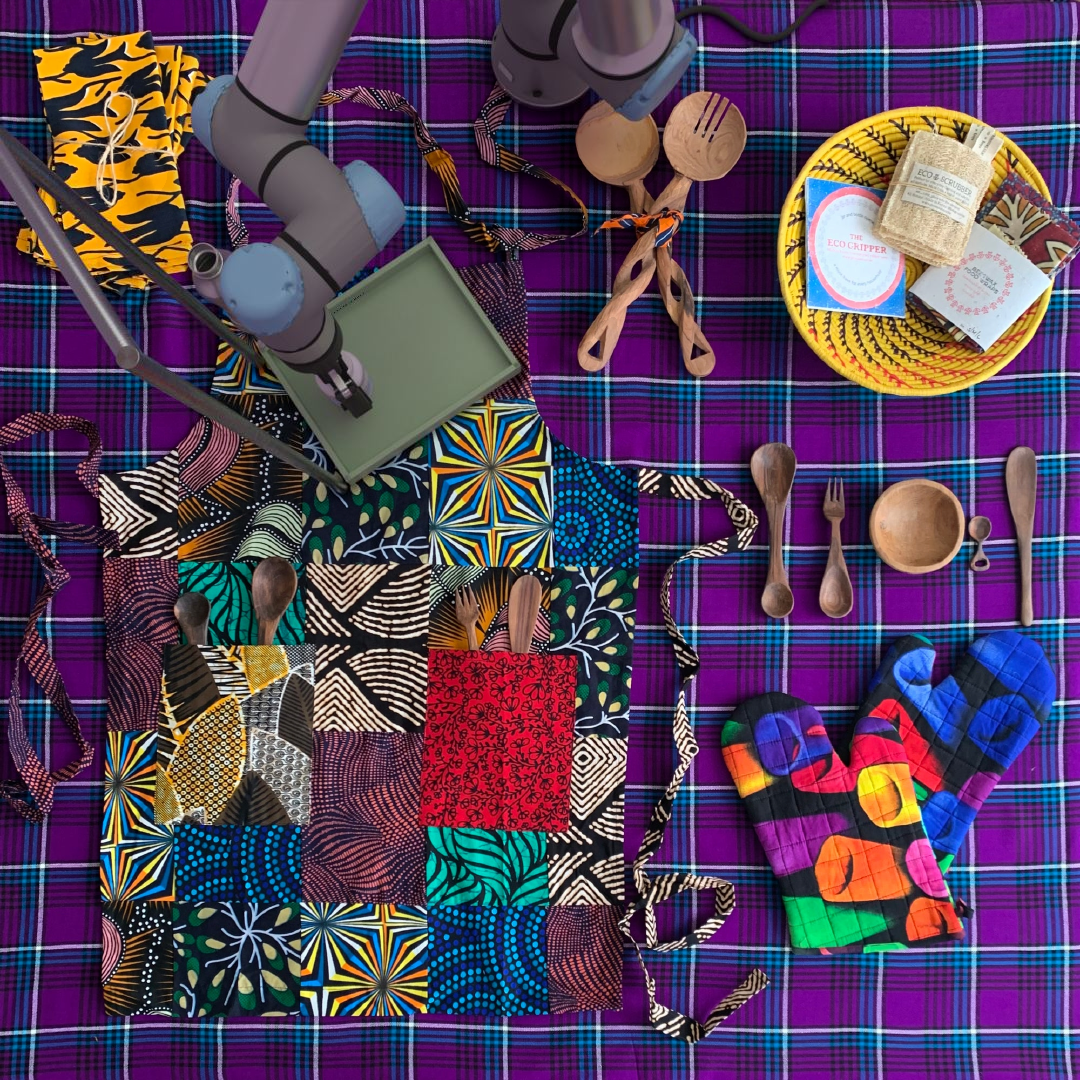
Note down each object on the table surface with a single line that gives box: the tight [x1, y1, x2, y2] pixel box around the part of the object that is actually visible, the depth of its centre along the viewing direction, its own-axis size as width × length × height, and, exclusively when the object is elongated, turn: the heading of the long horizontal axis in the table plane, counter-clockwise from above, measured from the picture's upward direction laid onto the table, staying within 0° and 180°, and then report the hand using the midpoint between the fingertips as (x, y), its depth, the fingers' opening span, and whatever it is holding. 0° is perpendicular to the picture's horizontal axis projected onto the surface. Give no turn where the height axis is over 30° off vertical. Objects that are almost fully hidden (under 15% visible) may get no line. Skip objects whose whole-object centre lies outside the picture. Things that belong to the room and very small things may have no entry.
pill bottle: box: [315, 350, 373, 409], centre depth 118 cm, size 6×6×11 cm
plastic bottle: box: [186, 242, 253, 335], centre depth 115 cm, size 6×7×20 cm
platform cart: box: [0, 124, 522, 495], centre depth 93 cm, size 30×22×62 cm
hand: (349, 385), depth 121 cm, fingers closed on pill bottle, 6 cm apart
